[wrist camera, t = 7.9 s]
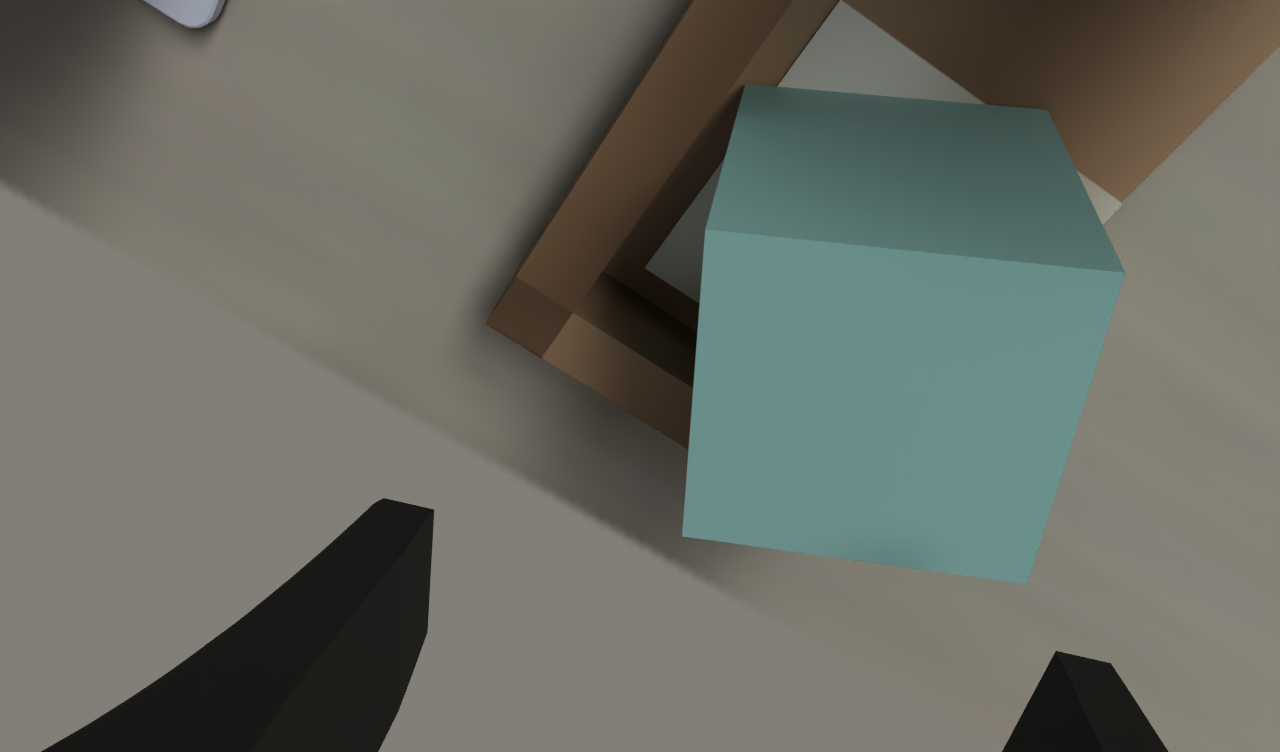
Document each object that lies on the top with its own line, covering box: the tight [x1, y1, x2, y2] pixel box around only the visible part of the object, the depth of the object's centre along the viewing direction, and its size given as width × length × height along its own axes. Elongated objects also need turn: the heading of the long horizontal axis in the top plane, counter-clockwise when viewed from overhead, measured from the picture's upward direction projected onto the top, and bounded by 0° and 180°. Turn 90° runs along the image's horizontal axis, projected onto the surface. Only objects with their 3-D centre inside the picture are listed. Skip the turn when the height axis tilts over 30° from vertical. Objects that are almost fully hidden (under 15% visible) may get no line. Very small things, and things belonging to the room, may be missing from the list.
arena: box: [486, 0, 1280, 449], centre depth 18 cm, size 8×13×2 cm, turn 148°
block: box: [682, 84, 1125, 584], centre depth 17 cm, size 5×5×6 cm
